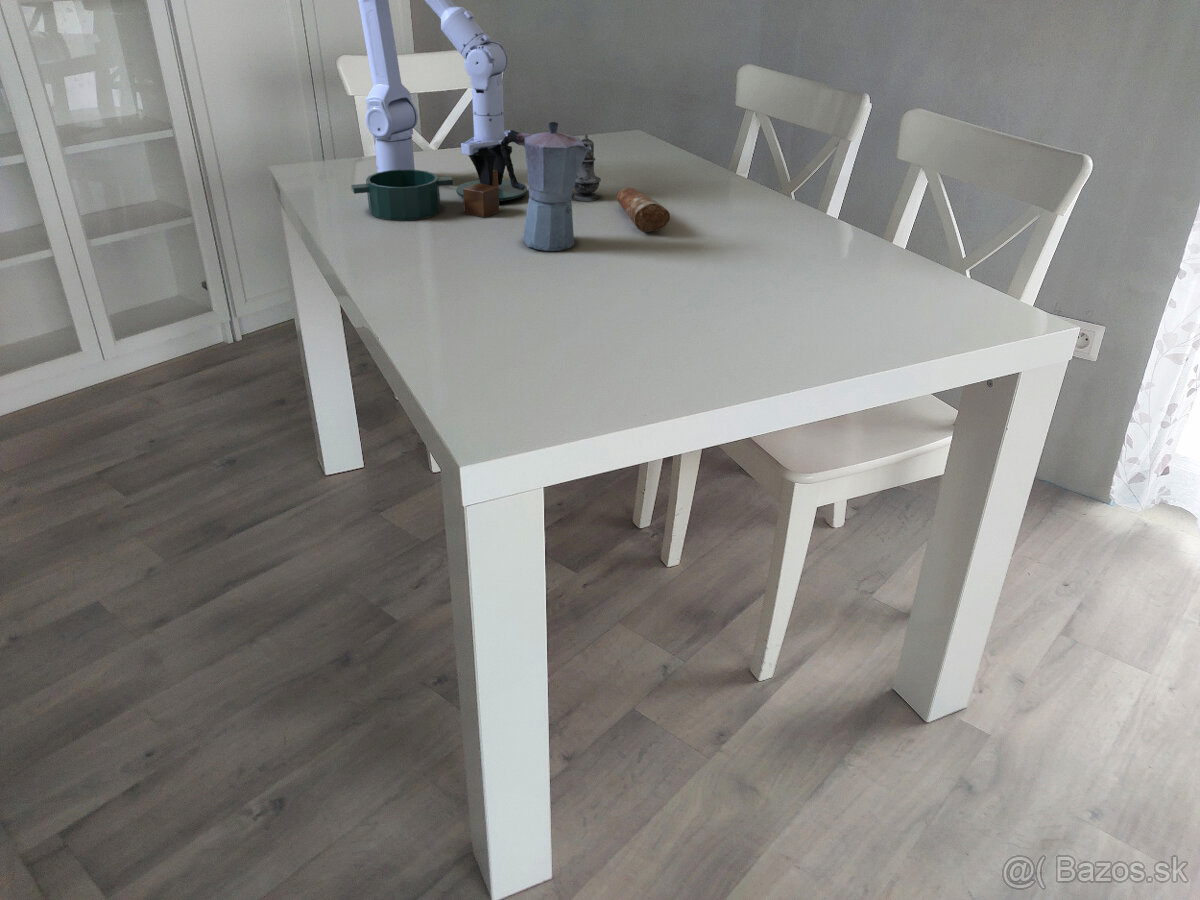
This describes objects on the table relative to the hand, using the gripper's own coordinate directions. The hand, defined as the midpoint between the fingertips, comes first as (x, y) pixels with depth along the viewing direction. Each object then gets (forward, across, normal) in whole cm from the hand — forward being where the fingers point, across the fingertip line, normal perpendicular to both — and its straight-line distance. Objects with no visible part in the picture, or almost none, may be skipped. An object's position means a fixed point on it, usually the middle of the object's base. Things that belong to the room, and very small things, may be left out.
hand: (491, 185), depth 182 cm
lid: (+1, 0, 0) cm, 1 cm away
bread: (+2, +3, -31) cm, 31 cm away
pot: (+2, -17, +7) cm, 19 cm away
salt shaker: (+2, +10, -16) cm, 19 cm away
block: (+2, -10, -5) cm, 11 cm away
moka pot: (+2, -18, -25) cm, 31 cm away
